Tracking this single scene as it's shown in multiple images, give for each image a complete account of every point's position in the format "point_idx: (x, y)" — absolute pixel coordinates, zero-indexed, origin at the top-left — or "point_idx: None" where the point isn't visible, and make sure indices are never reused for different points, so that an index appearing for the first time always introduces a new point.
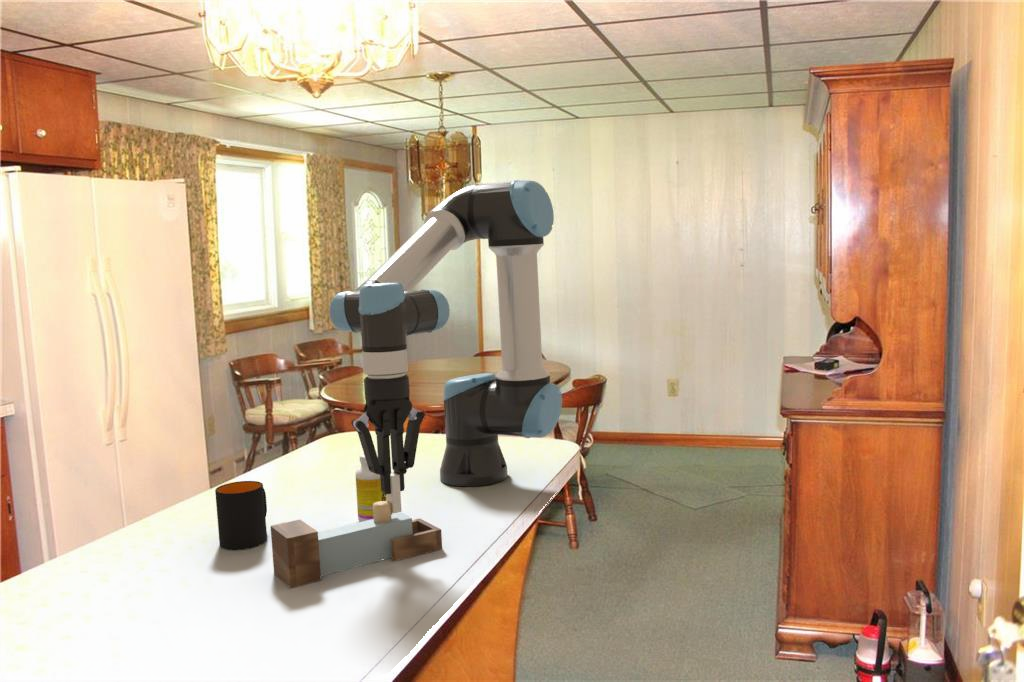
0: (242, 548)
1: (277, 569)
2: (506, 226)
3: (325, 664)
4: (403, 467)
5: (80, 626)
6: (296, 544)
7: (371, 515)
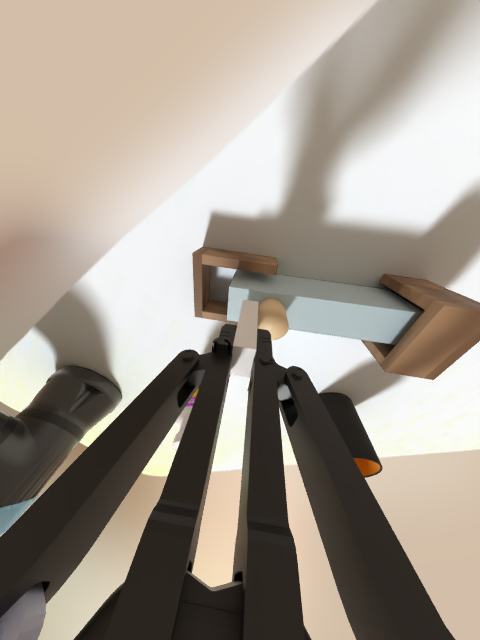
0: (345, 395)
1: None
2: None
3: None
4: (214, 357)
5: None
6: (473, 305)
7: None
